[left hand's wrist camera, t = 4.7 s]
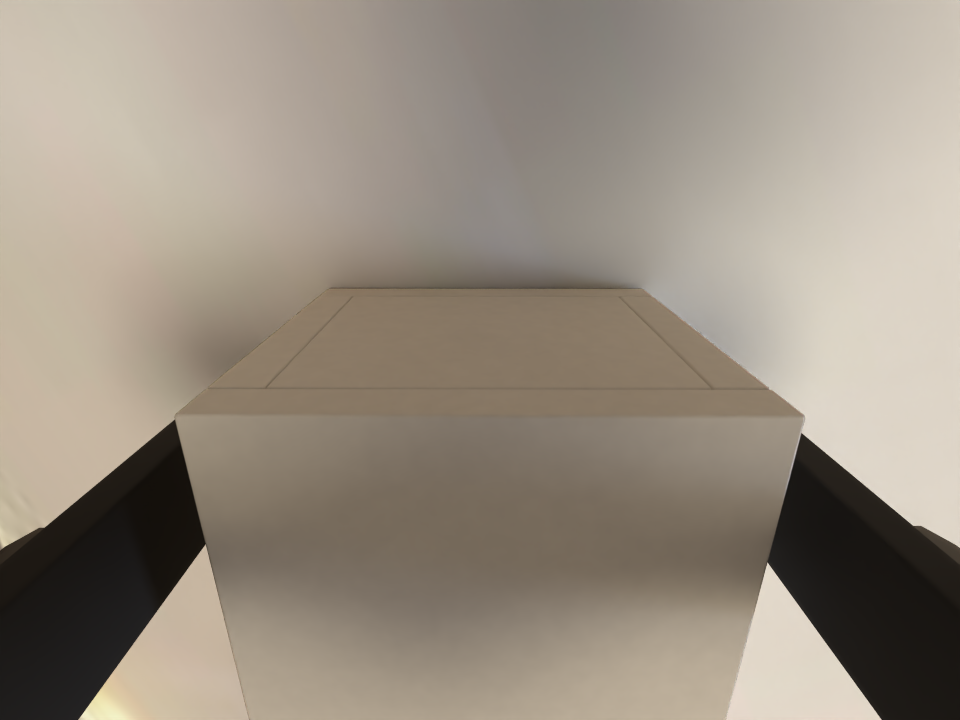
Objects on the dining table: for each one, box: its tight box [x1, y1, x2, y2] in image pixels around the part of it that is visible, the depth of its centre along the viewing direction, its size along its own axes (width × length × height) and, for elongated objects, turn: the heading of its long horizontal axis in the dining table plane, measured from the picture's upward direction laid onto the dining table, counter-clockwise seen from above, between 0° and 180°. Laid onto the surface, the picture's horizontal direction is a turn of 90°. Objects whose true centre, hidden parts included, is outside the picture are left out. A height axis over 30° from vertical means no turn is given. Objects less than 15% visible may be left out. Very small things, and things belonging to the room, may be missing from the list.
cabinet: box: [175, 288, 805, 720], centre depth 16 cm, size 18×10×9 cm, turn 0°
